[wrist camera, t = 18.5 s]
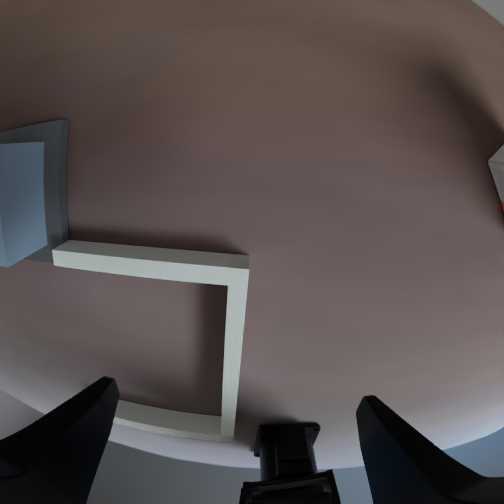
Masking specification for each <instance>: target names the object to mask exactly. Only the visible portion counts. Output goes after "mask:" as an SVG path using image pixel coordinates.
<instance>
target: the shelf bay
mask: <svg viewBox="0 0 504 504" xmlns="http://www.w3.org/2000/svg"><path fill="white" fill-rule="evenodd" d="M52 254H53V261H54V266H61V267H68V268H75V269H83V270H90V271H97V272H105V273H113V274H121V275H130V276H138V277H147V278H156V279H165V280H175V281H184V282H195V283H205V284H216V285H227V286H228V295H227V312H226V329H225V348H224V368H223V391H222V416H212V415H203V414H195V413H187V412H180V411H174V410H168V409H162V408H156V407H151V406H146V405H141V404H136V403H132V402H127V401H123V400H118V404H117V408H116V412H115V416H114V420H113V423H117V424H120V425H124V426H128V427H133V428H137V429H141V430H146V431H151V432H156V433H161V434H167V435H172V436H179V437H185V438H192V439H200V440H209V441H219V442H231V443H233V438H234V427H235V416H236V405H237V394H238V384H239V373H240V362H241V351H242V341H243V330H244V319H245V308H246V298H247V287H248V277H249V255H238V254H227V253H215V252H203V251H191V250H180V249H168V248H156V247H145V246H133V245H122V244H111V243H99V242H88V241H77V240H68V241H66V242H65V243H63V244H61V245H60V246H58V247H56V248H54V249H53V250H52Z"/></svg>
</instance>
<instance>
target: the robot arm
mask: <svg viewBox="0 0 504 504" xmlns="http://www.w3.org/2000/svg"><path fill="white" fill-rule="evenodd" d="M118 400H119V392H118V388H117V384H116V381H115V379H114V378H111V377H107V376H104V377H102V378H100V379H99V380H97V381H96V382H94V383H93V384H91V385H90V386H88V387H87V388H85V389H84V390H82V391H81V392H79V393H78V394H76V395H75V396H73V397H72V398H70V399H69V400H67V401H66V402H64V403H63V404H61V405H60V406H58V407H57V408H55V409H54V410H52V411H50V412H49V413H47V414H46V415H44V416H43V417H41V418H40V419H39V420H37V421H35V422H34V423H32V424H30V425H29V426H27V427H25V428H24V429H22V430H20V431H18V432H16V433H14V434H12V435H10V436H8V437H6V438H4V439H2V440H0V504H86V503H87V499H88V496H89V493H90V490H91V487H92V484H93V480H94V478H95V475H96V472H97V469H98V466H99V463H100V460H101V457H102V454H103V451H104V449H105V446H106V443H107V441H108V438H109V435H110V432H111V429H112V425H113V420H114V416H115V412H116V408H117V404H118ZM356 418H357V425H358V433H359V441H360V448H361V452H362V456H363V460H364V464H365V469H366V473H367V477H368V481H369V486H370V490H371V494H372V498H373V504H504V477H485V476H481V475H480V474H478V473H476V472H474V471H473V470H471V469H469V468H467V467H466V466H464V465H462V464H461V463H459V462H458V461H456V460H455V459H453V458H451V457H450V456H449V455H447V454H446V453H445V452H443V451H442V450H441V449H439V448H438V447H437V446H434V444H433V443H432V442H431V441H429V440H428V439H427V438H426V437H424V436H423V435H422V434H421V433H419V432H418V431H417V430H416V429H414V428H413V427H412V426H411V425H410V424H408V423H407V422H406V421H405V420H404V419H402V418H401V417H400V416H399V415H397V414H396V413H395V412H394V411H393V410H391V409H390V408H389V407H388V406H387V405H385V404H384V403H383V402H382V401H381V400H379V399H378V398H377V397H376V396H374V395H369V396H364V397H363V398H362V400H361V402H360V404H359V406H358V408H357V411H356ZM319 431H320V425H319V424H306V425H260V426H259V429H258V434H257V439H256V443H255V448H254V456H256V457H260V470H261V481H258V482H243V488H242V489H241V495H240V501H239V504H341V503H340V498H339V494H338V490H337V486H336V482H335V479H334V475H333V471H332V469H330V470H327V471H325V472H320V473H318V472H317V466H316V461H315V455H314V450H313V444H314V442H315V440H316V438H317V436H318V433H319ZM324 491H325V492H324Z"/></svg>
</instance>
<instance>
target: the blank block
mask: <svg viewBox="0 0 504 504" xmlns="http://www.w3.org/2000/svg"><path fill="white" fill-rule="evenodd" d="M46 245H48V243H47V234H46V223H45V208H44V142H27V143H10V144H0V266H2V267H7V268H9V267H10V266H12V265H14V264H15V263H17V262H19V261H20V260H22V259H24V258H25V257H27V256H29V255H30V254H32V253H34V252H36V251H37V250H39V249H41V248H43V247H44V246H46Z"/></svg>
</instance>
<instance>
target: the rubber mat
mask: <svg viewBox="0 0 504 504" xmlns="http://www.w3.org/2000/svg"><path fill="white" fill-rule="evenodd" d="M68 129H69V120H63V119H62V120H56V121H50V122H44V123H39V124H34V125H29V126H25V127H20V128H16V129H12V130H8V131H4V132H0V144H10V143H27V142H44V208H45V223H46V234H47V243H48V245H46V246H44V247H43V248H41V249H39V250H37V251H36V252H34V253H32V254H30V255H29V256H27V257H25V258H24V259H31V260H37V261H44V262H51V263H54V261H53V254H52V250H53V249H54V248H56V247H58V246H60V245H61V244H63V243H65V242H66V241H68V240H69V229H68V214H67V144H68Z"/></svg>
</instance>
